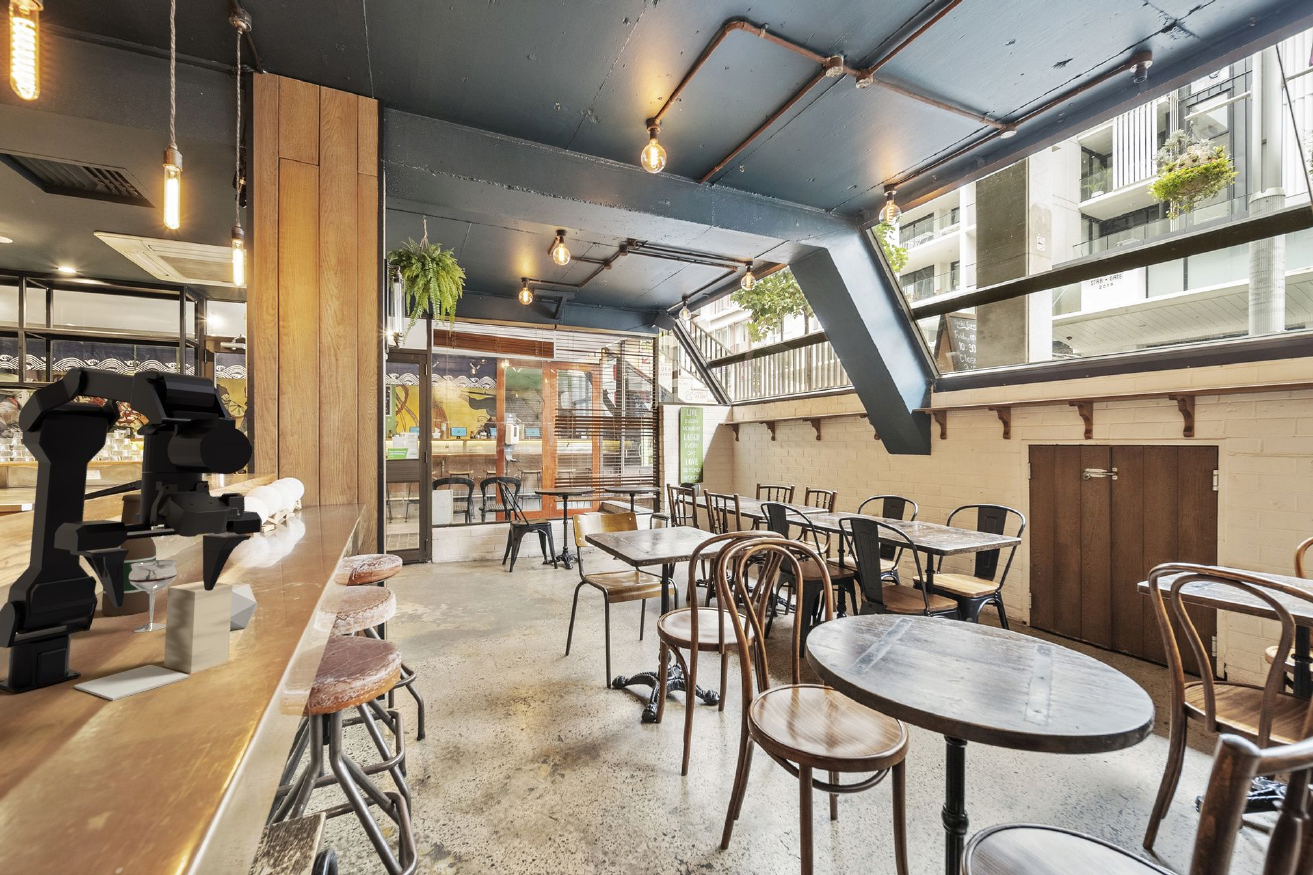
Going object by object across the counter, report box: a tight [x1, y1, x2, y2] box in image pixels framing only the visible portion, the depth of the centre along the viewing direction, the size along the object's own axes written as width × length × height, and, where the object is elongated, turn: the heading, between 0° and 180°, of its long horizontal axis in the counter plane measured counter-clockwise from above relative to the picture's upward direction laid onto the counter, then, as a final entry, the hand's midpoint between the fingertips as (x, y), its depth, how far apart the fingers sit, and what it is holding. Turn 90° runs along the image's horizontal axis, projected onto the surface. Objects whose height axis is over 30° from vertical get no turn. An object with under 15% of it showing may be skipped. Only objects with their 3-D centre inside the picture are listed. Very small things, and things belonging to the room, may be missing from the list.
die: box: [230, 583, 259, 631], centre depth 102 cm, size 8×9×10 cm
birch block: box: [163, 580, 232, 674], centre depth 84 cm, size 7×5×12 cm
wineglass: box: [129, 559, 178, 633], centre depth 102 cm, size 7×7×12 cm
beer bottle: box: [101, 493, 157, 617], centre depth 112 cm, size 8×8×24 cm
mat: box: [73, 664, 190, 702], centre depth 77 cm, size 10×8×1 cm
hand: (166, 598), depth 67 cm, fingers open, 9 cm apart
